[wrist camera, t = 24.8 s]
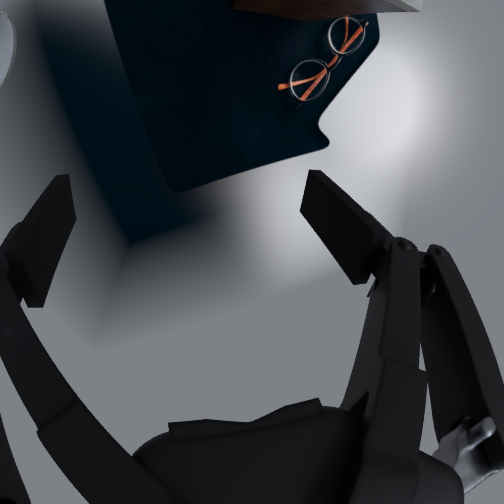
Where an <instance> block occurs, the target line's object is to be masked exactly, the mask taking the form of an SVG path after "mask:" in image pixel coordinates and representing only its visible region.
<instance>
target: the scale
mask: <svg viewBox="0 0 504 504" xmlns="http://www.w3.org/2000/svg"><path fill="white" fill-rule="evenodd" d="M385 1H387V2H389V3H391V4H393V5H395V6H397V7H399V8H401V9H403V10H404V11H406V12H421V10H422V0H385Z"/></svg>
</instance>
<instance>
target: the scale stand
mask: <svg viewBox="0 0 504 504" xmlns="http://www.w3.org/2000/svg"><path fill="white" fill-rule="evenodd" d="M233 9H236V10H244V11H252V12H258V13H264V14H270V15H276V16H281V17H286V18H290V19H295V20H299V21H303V22H309V21H314V20H320V19H326V18H333V17H340V16H348V15H357V14H368V13H384V12H406V11H404V10H403V9H401V8H399V7H397V6H395V5H393V4H391V3H389V2H387V1H385V0H234V3H233Z"/></svg>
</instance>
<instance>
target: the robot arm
mask: <svg viewBox="0 0 504 504" xmlns="http://www.w3.org/2000/svg"><path fill="white" fill-rule="evenodd" d="M300 212H301V214H302V215H303V216H304V218H305V219H306V220H307V222H308V223H309V224H310V225H311V227H312V228H313V230H314V231H315V232H316V234H317V235H318V236H319V238H320V239H321V240H322V242H323V243H324V244H325V246H326V247H327V249H328V250H329V251H330V253H331V254H332V255H333V257H334V258H335V260H336V261H337V262H338V264H339V265H340V267H341V268H342V269H343V271H344V272H345V274H346V275H347V277H348V278H349V279H350V281H351V282H352V284H353V285H358V284H365V283H367V281H368V279H369V277H370V275H371V273H372V274H373V275H374V277H375V278H376V279H375V281H374V283H373V285H372V287H371V289H370V291H369V293H368V295H367V297H369V296H370V300H369V305H368V310H367V314H366V319H365V323H364V327H363V331H362V336H361V340H360V344H359V347H358V351H357V355H356V359H355V363H354V366H353V370H352V373H351V376H350V380H349V383H348V387H347V390H346V393H345V396H344V399H343V402H342V404H341V405H340V407H339V408H335V407H328V406H322V405H321V403H320V400H319V398H315V399H311V400H307V401H303V402H299V403H295V404H291V405H286V406H284V407H282V408H280V409H277V410H275V411H273V412H271V413H269V414H267V415H265V416H263V417H261V418H259V419H256V420H254V421H252V422H234V421H221V420H211V419H203V420H193V421H183V422H170V423H168V427H169V431H168V432H166V433H162V434H160V435H158V436H156V437H154V438H152V439H151V440H149V441H147V442H146V443H144V444H143V445H142V446H141V447H139V448H138V450H137V451H135V453H134V454H133V455H132V456H130V454H128V453H127V452H126V451H125V450H124V449H123V447H122V446H120V444H119V443H118V442H117V441H116V440H115V439H114V438H113V437H112V436H111V435H110V434H109V433H108V432H107V431H106V429H104V427H103V426H102V425H101V424H100V423H99V421H98V420H97V419H96V418H95V417H94V416H93V414H92V413H91V412H90V411H89V410H88V409H87V407H86V406H85V405H84V403H83V402H82V401H81V400H80V398H79V397H78V396H77V394H76V393H75V392H74V391H73V389H72V388H71V386H70V385H69V384H68V383H67V381H66V380H65V378H64V377H63V375H62V374H61V373H60V371H59V370H58V368H57V367H56V365H55V364H54V362H53V361H52V359H51V358H50V356H49V355H48V353H47V351H46V350H45V348H44V347H43V345H42V343H41V342H40V340H39V338H38V337H37V335H36V333H35V331H34V330H33V328H32V326H31V325H30V323H29V321H28V319H27V317H26V315H25V313H24V311H23V309H22V308H21V306H20V303H21V300H22V298H24V300H25V302H26V304H27V307H28V308H41V307H42V308H43V306H44V303H45V299H46V297H47V294H48V291H49V288H50V285H51V282H52V279H53V276H54V273H55V271H56V268H57V265H58V263H59V260H60V257H61V255H62V252H63V250H64V247H65V245H66V242H67V240H68V238H69V235H70V233H71V231H72V229H73V226H74V224H75V222H76V215H75V209H74V204H73V198H72V192H71V185H70V178H69V174H63V175H56V176H55V178H54V179H53V180H52V181H51V183H50V184H49V185H48V186H47V188H46V189H45V190H44V192H43V193H42V194H41V196H40V197H39V198H38V200H37V201H36V203H35V204H34V205H33V207H32V208H31V209H30V211H29V212H28V214H27V215H26V217H25V218H24V220H23V221H22V222H19V223H17V224H16V225H15V226H14V227H13V228H12V229H11V230H10V232H9V233H8V235H7V237H6V238H5V239H4V241H3V243H2V244H1V246H0V356H1V359H2V361H3V363H4V366H5V368H6V370H7V372H8V374H9V376H10V378H11V380H12V382H13V384H14V386H15V388H16V390H17V392H18V394H19V396H20V398H21V400H22V402H23V403H24V405H25V407H26V408H27V410H28V412H29V414H30V416H31V417H32V419H33V421H34V422H35V424H36V426H37V428H38V430H37V435H38V437H39V439H40V441H41V442H42V444H43V446H44V447H45V448H46V450H47V451H48V453H49V454H50V455H51V457H52V458H53V460H54V461H55V462H56V464H57V465H58V467H59V468H60V469H61V471H62V472H63V473H64V474H65V476H66V477H67V478H68V479H69V481H70V482H71V483H72V484H73V486H74V487H75V488H76V489H77V490H78V491H79V493H80V494H81V495H82V496H83V497H84V498H85V499H86V501H87V502H88V503H89V504H464V495H465V494H467V493H468V492H469V491H471V490H472V489H474V488H475V487H476V486H477V485H479V484H480V483H481V482H482V481H484V480H485V479H486V478H488V477H489V476H491V475H493V474H495V473H497V472H499V471H501V470H502V469H504V384H503V380H502V377H501V374H500V370H499V367H498V364H497V361H496V358H495V355H494V352H493V349H492V346H491V343H490V341H489V338H488V335H487V333H486V330H485V327H484V325H483V322H482V320H481V318H480V315H479V313H478V311H477V308H476V306H475V304H474V301H473V299H472V297H471V295H470V293H469V291H468V288H467V286H466V284H465V282H464V280H463V278H462V276H461V274H460V272H459V270H458V268H457V266H456V264H455V263H454V261H453V259H452V257H451V255H450V254H449V252H448V251H446V249H445V248H443V247H442V246H438V245H434V244H432V245H430V246H429V248H428V250H427V252H420V251H418V249H417V247H416V246H415V245H414V244H413V243H412V242H411V241H409V240H407V239H405V238H402V237H394V236H392V234H391V233H390V232H389V231H387V230H386V229H385V227H384V226H383V225H381V223H379V221H377V220H376V219H375V218H374V217H373V216H372V215H371V214H370V213H368V212H367V211H365V210H364V209H363V208H362V207H361V206H360V205H359V204H358V203H356V202H355V201H354V200H353V199H352V198H351V197H350V196H349V195H348V194H347V193H346V192H345V191H344V190H342V189H341V188H340V187H339V186H338V185H337V184H336V183H334V182H333V181H332V180H331V179H330V178H329V177H328V176H326V175H325V174H324V173H323V172H322V171H321V170H309V172H308V176H307V181H306V186H305V190H304V195H303V199H302V203H301V208H300ZM434 289H435V290H434ZM433 291H434V292H433ZM420 343H421V347H422V353H423V357H424V363H425V369H426V372H425V371H423V370H420V369H419V355H420ZM427 382H428V387H429V394H430V400H431V409H432V417H433V422H434V429H435V433H436V437H437V441H438V444H439V448H438V450H436V451H435V452H434V453H433V455H432V456H430V455H428V454H426V453H424V452H422V451H420V450H419V446H420V441H421V435H422V428H423V421H424V413H425V404H426V393H427ZM0 504H31V502H30V499H29V496H28V493H27V491H26V488H25V486H24V483H23V481H22V478H21V476H20V473H19V471H18V468H17V466H16V463H15V460H14V458H13V455H12V452H11V449H10V446H9V443H8V439H7V436H6V433H5V429H4V426H3V422H2V418H1V414H0Z"/></svg>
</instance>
